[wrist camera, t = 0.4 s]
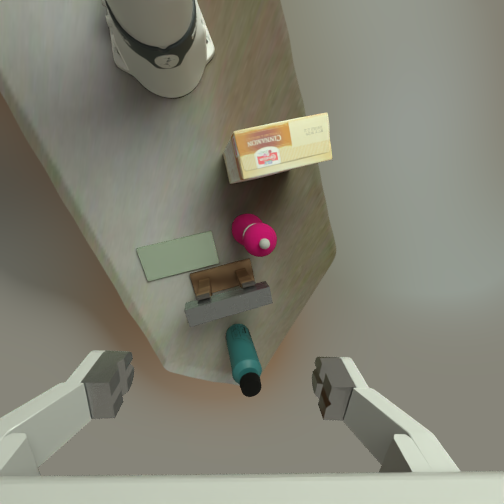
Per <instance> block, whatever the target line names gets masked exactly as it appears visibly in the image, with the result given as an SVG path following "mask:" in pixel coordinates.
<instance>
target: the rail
mask: <svg viewBox="0 0 504 504" xmlns="http://www.w3.org/2000/svg"><path fill="white" fill-rule="evenodd" d="M271 303H273V302H272V297H271V292H270V287H269V285H268V284H267V283H266V281H264V282H260V283H256V285H253V286H249V287H245V288H243V287H242V288H238V289H235V290H231V291H227V292H224V293H220V294H217V295H213V296H210V297H209V298H206V299H202V300H199V301H197V300H195V301H191V302H188V303H186V305H185V313H186V316H187V320H188V323H189V326H190V327H192V326H196V325H199V324H203V323H206V322H209V321H213V320H216V319H220V318H223V317H227V316H230V315H233V314H237V313H240V312H244V311H247V310H251V309H254V308H257V307H261V306H264V305H268V304H271Z"/></svg>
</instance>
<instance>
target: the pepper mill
mask: <svg viewBox="0 0 504 504" xmlns="http://www.w3.org/2000/svg"><path fill="white" fill-rule="evenodd" d="M232 234H233V237H234V239H235V240H236V241H237V242H238V243H240V244H241V245H244V246H245V249H246V250H247V251H248V252H249V253H250V254H252V255H254V256H258V257H262V256H266V255H268V254H270V253H271V252H272V251H273V250H274V248H275V246H276V243H277V237H276V233H275V231H274V230H273V229H272V228H271V227H270V226H269V225H267V224H264V223H262V221H261V220H260V219H259V218H258V217H257V216H255V215H253V214H242V215H239V216H238V217H236V218H235V219H234V221H233V223H232Z"/></svg>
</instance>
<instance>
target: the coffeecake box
mask: <svg viewBox="0 0 504 504" xmlns="http://www.w3.org/2000/svg"><path fill="white" fill-rule="evenodd" d="M223 156H224V160H225V165H226V169H227V174H228V178H229V183H230V184H233V183H238V182H243V181H248V180H253V179H257V178H262V177H266V176H270V175H273V174H277V173H281V172H285V171H288V170H291V169H295V168H299V167H303V166H307V165H311V164H315V163H319V162H323V161H327V160H331V159H332V151H331V144H330V136H329V120H328V114H327V113H322V114H316V115H311V116H306V117H301V118H296V119H291V120H286V121H281V122H276V123H271V124H267V125H262V126H257V127H252V128H247V129H243V130H238V131H234V132H233V134H232V136H231V138H230V140H229V143H228V144H227V146H226V149H225V151H224V152H223Z"/></svg>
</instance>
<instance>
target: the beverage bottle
mask: <svg viewBox="0 0 504 504" xmlns="http://www.w3.org/2000/svg"><path fill="white" fill-rule="evenodd" d="M226 340H227V347H228V351H229V356H230V362H231V367H232V375H233V378H234V380H235V381H236V382H237V383H238V384H240V388H241V390H242V393H243V394H244V395H245V396H248V397H252V396H255V395H257V394H258V393H259V392H260V390H261V382H260V375H261V372H262V368H261V364H260V362H259V360H258V357H257V353H256V352H257V351H256V349H255V347H254V345H253V341H252V339H251V336H250V333H249V330H248V328H247V327H246V326H244V325H243V324H235V325H232V326H231V327H230V328H229V329H228V330H227V333H226Z"/></svg>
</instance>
